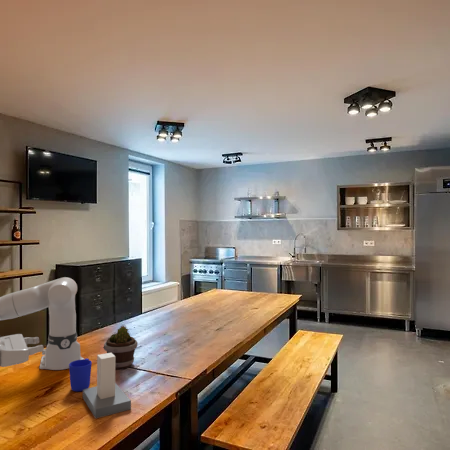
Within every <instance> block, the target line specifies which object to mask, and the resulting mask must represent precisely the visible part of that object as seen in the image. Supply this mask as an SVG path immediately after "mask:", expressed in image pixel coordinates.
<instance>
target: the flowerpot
mask: <svg viewBox="0 0 450 450" xmlns="http://www.w3.org/2000/svg"><path fill="white" fill-rule="evenodd" d="M102 348H103V349H104V351H106V353H112V354H113V355H114V356H115V370H122V369H128V368H130V367H132V365H133V363H134V362H135V357H134V356H135V355H134V354H135V351H136V349H137V348H138V341H137V340H136V338H135V337H133V336H131V333H130V331H129V328H127V326H126V325H125V324H124V325H123V324H120V326H119V327H118V328H117V329H116V330H115V332H113V333H112V335H111V334H110V337H108V338H107V339H106V342H104V344H103V347H102Z"/></svg>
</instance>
